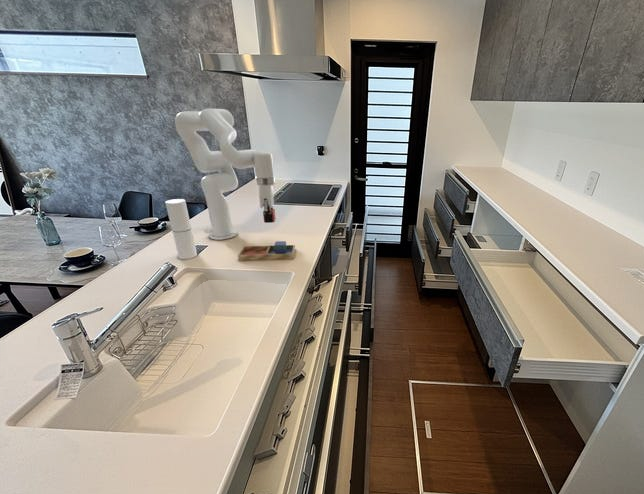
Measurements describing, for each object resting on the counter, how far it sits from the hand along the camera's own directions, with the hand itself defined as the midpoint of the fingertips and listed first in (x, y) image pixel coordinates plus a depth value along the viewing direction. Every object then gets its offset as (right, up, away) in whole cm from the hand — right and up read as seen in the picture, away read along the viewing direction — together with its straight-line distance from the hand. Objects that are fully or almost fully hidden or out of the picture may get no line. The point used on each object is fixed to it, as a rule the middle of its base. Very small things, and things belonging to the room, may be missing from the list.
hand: (269, 220), depth 139 cm
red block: (0, 0, 0) cm, 0 cm away
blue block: (+5, -15, -1) cm, 16 cm away
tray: (0, -16, -1) cm, 16 cm away
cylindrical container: (-35, -16, -4) cm, 39 cm away
